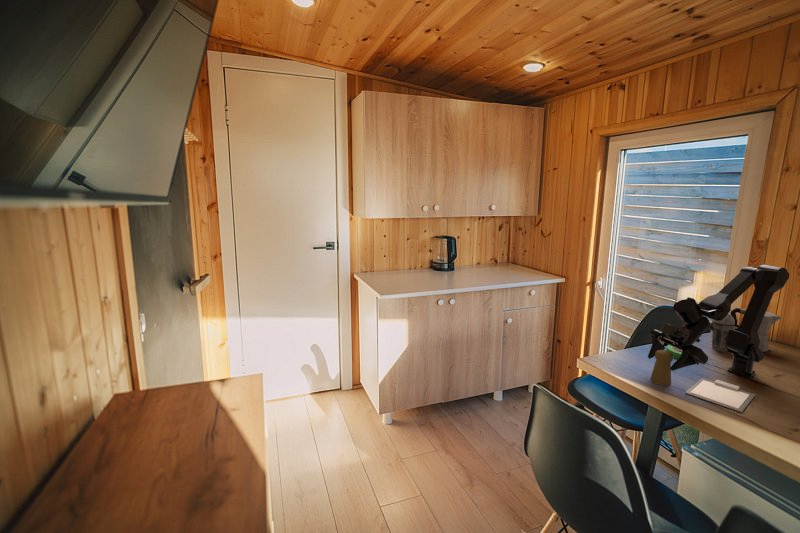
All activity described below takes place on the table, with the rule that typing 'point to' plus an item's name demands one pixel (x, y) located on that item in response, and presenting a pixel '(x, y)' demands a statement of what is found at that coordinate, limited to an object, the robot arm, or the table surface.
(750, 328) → the robot arm
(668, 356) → the cork
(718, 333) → the beverage cup
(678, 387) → the table surface
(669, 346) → the tape roll
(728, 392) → the clipboard
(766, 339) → the coffeepot
